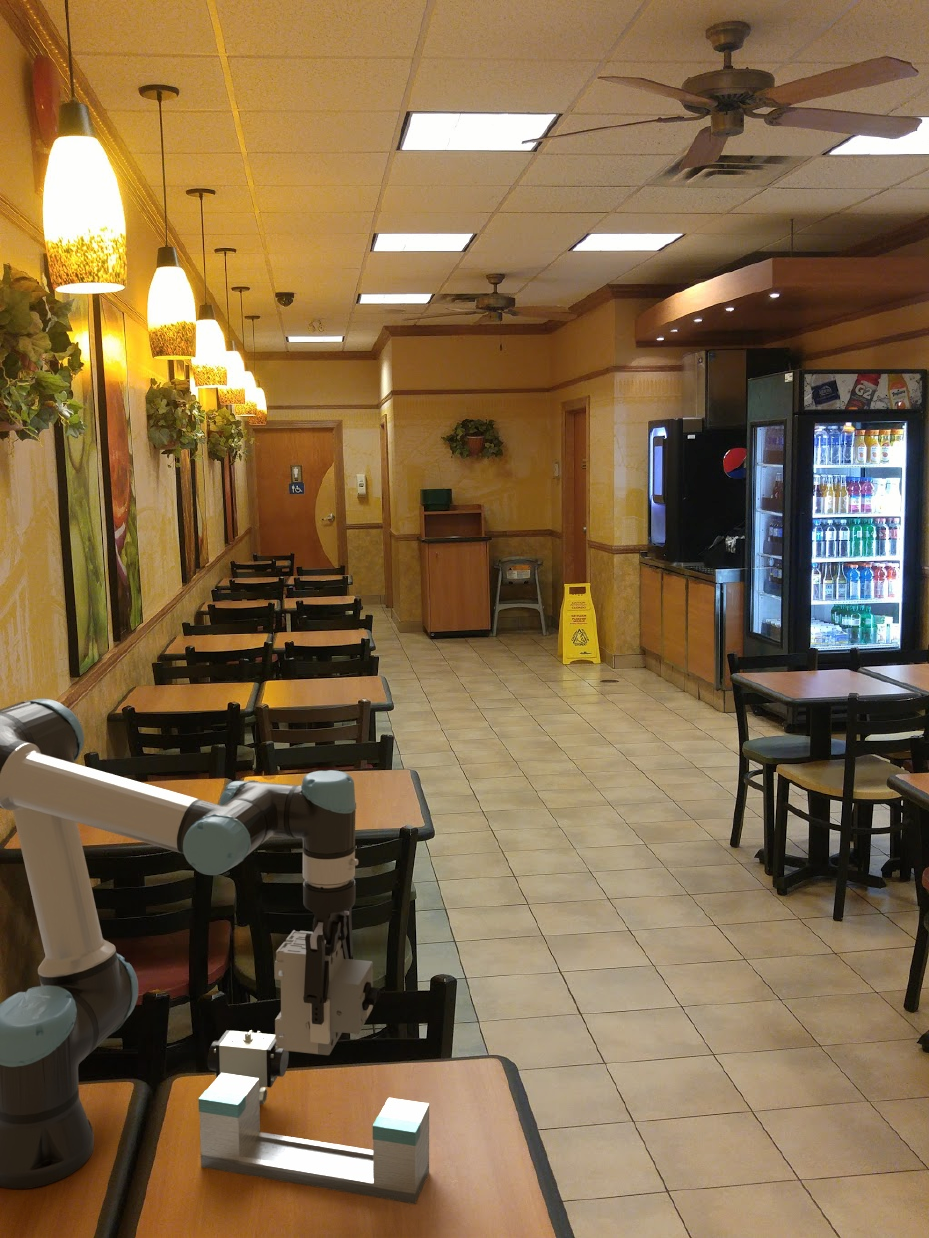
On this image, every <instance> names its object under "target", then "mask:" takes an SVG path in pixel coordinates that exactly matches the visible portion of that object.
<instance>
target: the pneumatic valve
mask: <svg viewBox="0 0 929 1238" xmlns="http://www.w3.org/2000/svg"><path fill="white" fill-rule="evenodd" d="M275 1047H276V1039H275V1034H271V1033H262V1032H261V1031H260V1030H257V1032H254V1030H252V1029H251V1030H249V1031H239V1030H227V1029H226V1031H225V1032H224V1033H223V1034H222V1036H221V1037H220V1038H219V1040H214V1041H212V1043H211V1045H210V1048H209V1051H208V1054H207V1055H208V1056H207V1067H208V1069H209V1071H215V1072H214V1076H215V1077H216V1079H217V1078H218V1076H219V1075H220V1074H221V1073H226V1074H233V1075H239V1076H246V1077H253V1078H259V1103H260V1105H265V1103H266V1101H267V1099H268V1089H267V1088H272V1087H273V1085H274V1083H275V1082H276V1080H277V1078H283V1077H284V1076H285V1074H286V1072H287V1069H288V1065H289V1057H290V1056H289V1054H290V1053H289V1051H286V1050H284V1049H281V1048H279V1049H278V1050H277V1049H275ZM216 1079H215V1080H216Z"/></svg>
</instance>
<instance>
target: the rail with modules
mask: <svg viewBox="0 0 929 1238" xmlns="http://www.w3.org/2000/svg"><path fill="white" fill-rule="evenodd" d="M260 1105H261V1104H260V1103H259V1078H253V1077H246V1076H239V1075H233V1074H226V1073H221V1074H220V1075H219V1076H218V1078H217V1079H215V1080H214V1081H213V1082H212V1083H211V1084H210V1086H209V1087H208V1088H207V1089H205V1090H204V1092H203V1093H202V1094H201V1095H200V1097H198V1113H199V1135H200V1136H199V1138H200V1145H199V1146H200V1167H201V1168H202V1169H203V1168H204V1169H210V1170H215V1171H221V1172H227V1173H233V1174H238V1175H245V1176H251V1177H257V1178H262V1179H268V1180H273V1181H274V1180H275V1181H280V1182H285V1183H291V1184H292V1183H293V1184H297V1185H303V1186H308V1187H309V1186H310V1187H314V1188H319V1189H326V1190H332V1191H338V1192H343V1193H350V1194H356V1195H360V1196H366V1197H367V1196H368V1197H373V1198H379V1199H385V1200H390V1201H391V1200H392V1201H396V1202H402V1203H407V1204H414V1205H416V1203H417V1201H418V1198H419V1196H420V1194H421V1192H422V1189H423V1187H424V1185H425V1183H426V1181H427V1178H428V1175H429V1173H430V1103H429V1102H420V1101H414V1100H407V1099H402V1098H401V1099H400V1098H393V1097H388V1098H387V1100H386V1101H385V1104H384V1106H383V1107H382V1109H381V1111H380V1112H379V1114H378V1116H376V1119H375V1121H374V1122H373V1125H372V1149H368V1148H361V1147H355V1146H349V1145H343V1144H337V1143H330V1142H324V1141H323V1142H322V1141H319V1140H311V1139H306V1138H305V1139H304V1138H299V1137H293V1136H292V1137H291V1136H287V1135H286V1136H285V1135H280V1134H275V1133H274V1134H273V1133H268V1132H263V1131H261V1116H260V1115H261V1114H260V1113H261V1112H260V1110H261V1108H260Z"/></svg>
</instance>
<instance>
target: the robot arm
mask: <svg viewBox="0 0 929 1238" xmlns="http://www.w3.org/2000/svg"><path fill="white" fill-rule="evenodd" d="M84 743H85V735H84V729H83V727H82V725H81V722H80V720H79V719H78V717H77V716H76V715H75V714H74V712H73V711H72V710H71V709H70V708H68V707H66V706H65V705H64V704H62V703H61V702H59V701H56V700H54V699H48V698H36V699H31V700H24V701H20V702H17V703H14V704H10V705H9V706H8V705H7V706H6V707H4V708H1V709H0V809H3V810H6V811H12V814H13V818H14V823H15V827H16V830H17V831H16V832H17V835H18V840H19V844H20V849H21V854H22V857H23V858H22V859H23V862H24V866H25V872H26V877H27V880H28V884H29V888H30V892H31V893H30V894H31V896H32V897H31V898H32V902H33V907H34V911H35V916H36V920H37V924H38V929H39V933H40V937H41V942H42V946H43V950H44V954H45V955H44V956H45V957H44V958H43V960H42V961H41V963H40V965H39V966H38V968H37V974H38V978H39V979H38V980H39V983H40V985H38V986H34V987H29V988H28V989H27V990H26V991H18V992H17V993H16V992H15V994H13V995H11V996H9V997H7V998H6V999H5V1000H4V1001H2V1002H1V1003H0V1187H2V1188H6V1189H14V1190H15V1189H16V1190H19V1189H23V1190H24V1189H31V1188H32V1189H33V1188H38V1187H42V1186H47V1185H50V1184H53V1183H56V1182H58V1181H60V1180H62V1179H64V1178H66V1177H68V1176H70V1175H72V1174H73V1173H75V1172H76V1171H78V1170H79V1169H80V1168H82V1167H83V1166H84V1165H85V1164H86V1163H87V1161H89V1159H90V1158H91V1156H92V1154H93V1151H94V1147H95V1146H94V1145H95V1140H94V1129H93V1126H92V1124H91V1122H90V1120H89V1118H88V1116H87V1114H86V1111H85V1109H84V1105H83V1103H82V1101H81V1097H80V1090H79V1089H80V1087H79V1064H80V1063H82V1061H84V1060H85V1059H86V1057H87V1056H89V1055H90V1054H91V1053H92V1052H93V1051H94V1050H96V1049H97V1047H99V1046H100V1045H101V1044H102V1043H103V1042H104V1041H105V1040H106V1039H107V1038H108V1037H109V1036H110V1035H113V1034H114V1033H115V1032H116V1031H118V1030H119V1029H120V1028H121V1027H122V1026H123V1025H124V1023H125V1021H126V1020H127V1019H128V1018H129V1016H130V1015H131V1014H132V1012H133V1011H134V1009H135V1006H136V1005H137V1002H138V998H139V981H138V977H137V974H136V972H135V969H134V968H133V966H132V964H130V962H127V961H125V957H123V956H122V955H121V954H119V953H117V949H116V946H115V945H114V944H113V943H111V942H109V941H108V940H105V939H104V937H103V934H102V929H101V925H100V920H99V915H98V911H97V908H96V902H95V898H94V893H93V889H92V884H91V880H90V875H89V870H88V865H87V861H86V857H85V852H84V849H83V848H84V847H83V843H82V839H81V833H80V829H79V824H80V825H83V826H88V827H91V828H95V829H97V830H101V831H105V832H108V833H111V834H116V835H119V836H122V837H125V838H129V839H133V840H136V841H139V842H142V843H146V844H148V845H153V846H156V847H160V848H163V849H166V850H170V851H173V852H177V853H179V854H182V855H184V857H185V859H186V861H187V862H188V864H189V865H191V867H192V868H194V869H195V871H197V872H199V873H200V874H203V875H208V876H217V875H221V874H223V873H225V872H227V871H229V870H230V869H232V868H234V867H235V866H238V865H239V864H240V863H242V862H243V861H244V860H245V859H246V857H247V856H248V855H250V854H251V853H252V852H253V851H254V850H256V849H257V848H258V847H260V846H261V845H262V844H264V842H266V841H267V840H268V839H269V838H270V837H279V838H280V837H281V838H290V839H292V838H294V839H296V838H297V839H298V838H299V839H302V878H303V879H304V881H303V882H302V897H303V899H302V900H303V901H302V902H303V903H302V904H303V906H304V907H305V909H306V910H309V911H310V912H312V913H313V915H314V918H313V920H312V923H311V932H313V934H309V933H307V934H306V936H305V944H306V962H305V983H304V996H303V1000H304V1003H310V1042H315V1043H322V1044H329V1042H330V999H327V994H328V986H329V961H325V955H326V956H329V957H330V955H331V961H332V954H333V953H334V952H335V951H336V947H337V939H340V940H341V948H342V950H343V956H344V959H354V958H355V957H354V942H353V940H354V939H353V927H352V926H353V925H352V924H353V922H352V921H353V920H352V911H353V909H352V908H353V907H354V905H355V903H356V880H355V878H354V877H355V876H356V866H358V865H359V859H358V858H356V809H357V802H356V792H355V791H356V790H355V782H354V779H353V777H352V776H351V775H350V774H348V773H347V772H345V771H341V770H340V771H339V770H333V769H332V770H331V769H329V770H317V771H316V770H315V771H312V772H309V773H307V774H305V775H304V777H303V778H302V780H301V781H302V783H301V784H299V785H297V784H286V783H275V782H265V781H259V780H252V779H251V780H234V781H231V782H230V783H228V784H227V785H226V786H225V788H224V791H223V792H222V793H221V795H220V798H219V803H218V804H217V803H213V802H211V801H206V800H203V799H199V798H196V797H193V796H190V795H186V794H182V793H178V792H176V791H172V790H169V789H164V788H163V787H159V786H158V787H157V786H155V785H151V784H147V783H143V782H142V781H141V782H140V781H137V780H133V779H130V778H127V777H123V776H119V775H117V774H116V775H115V774H113V773H109V772H105V771H102V770H98V769H95V768H92V767H87V766H85V765H81V764H78V763H76V760H78V758H79V757H80V754H81V752H82V751H83V749H84ZM325 944H326V945H331V946H330V947H327V946H325ZM336 954H337V951H336ZM354 960H355V959H354Z"/></svg>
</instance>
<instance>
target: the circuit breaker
mask: <svg viewBox="0 0 929 1238" xmlns="http://www.w3.org/2000/svg"><path fill="white" fill-rule="evenodd" d="M307 933H309V934H313V931H309V930H308V931H306V930H300V931H296V930H295V929H293V930H292V931H291V933H290V934H289V935H288V936H287V938H286V939H285V941H283V943H282V944H281V945H280V946H279V947H278V949H277V950H276V951H275V955H276V957H275V961H274V980H277V981H278V980H279V981H280V1012H279V1013H278V1015H277V1016H276V1018H275V1019H274V1029H275V1030H274V1035H275V1039H276V1047H275V1049H277V1050H278V1049H279V1048H281V1049H284V1050H286V1051H288V1052H295V1053H304V1054H305V1053H306V1054H314V1055H321V1056H322V1055H323V1056H330V1054H331V1053H332V1051H333V1049H334V1047H335V1045H336V1044H337V1042H338V1040H339V1039H340V1037H341V1035H342V1034H343V1033H346V1034H353V1035H354V1034H356V1035H359V1034H360V1032H361V1030H362V1029H363V1027H364V1025H365V1023H366V1021H367V1019H368V1018H369V1016H370V1014H371V1012H372V1010H373V1007H374V1006H375V1005H376V1002H377V1000H378V999H379V998H380V996H381V993H380V991H381V987H374V982H373V981H374V973H373V972H374V967H373V965H374V962H373V961H372V960H363V959H362V960H361V959H344V956H343V950H342V948H341V940H340V939H337V947H336V951H337V954H336V951H335V952H334V953H333V954H332V961H331V955H330V957H329V956H326V955H325V961H329V986H328V994H327V999H330V1042H329V1044H322V1043H315V1042H310V1003H304V1000H303V996H304V983H305V962H306V944H305V936H306V934H307ZM325 946H327V947H330V946H331V945H326V944H325Z"/></svg>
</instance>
